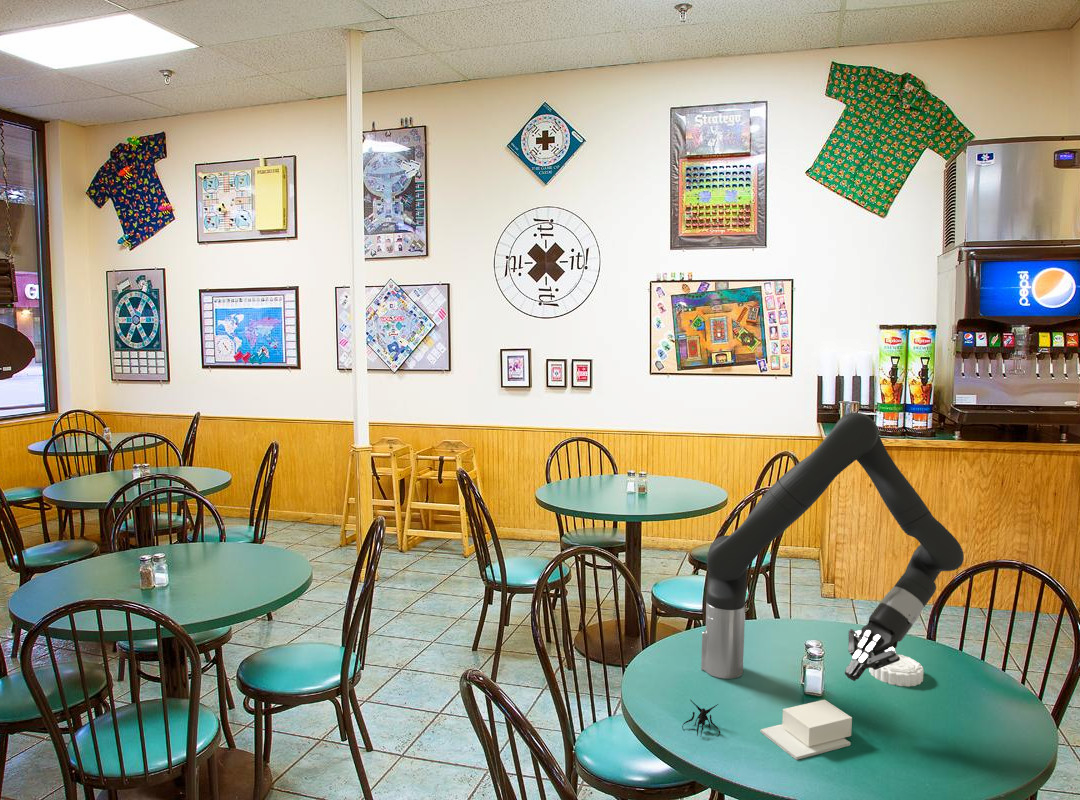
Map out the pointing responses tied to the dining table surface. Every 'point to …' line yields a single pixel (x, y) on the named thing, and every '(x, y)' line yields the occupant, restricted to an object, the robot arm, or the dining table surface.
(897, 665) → the mooncake
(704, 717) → the creature
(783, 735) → the mat
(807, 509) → the robot arm
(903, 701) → the dining table surface
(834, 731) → the cream rectangular block
